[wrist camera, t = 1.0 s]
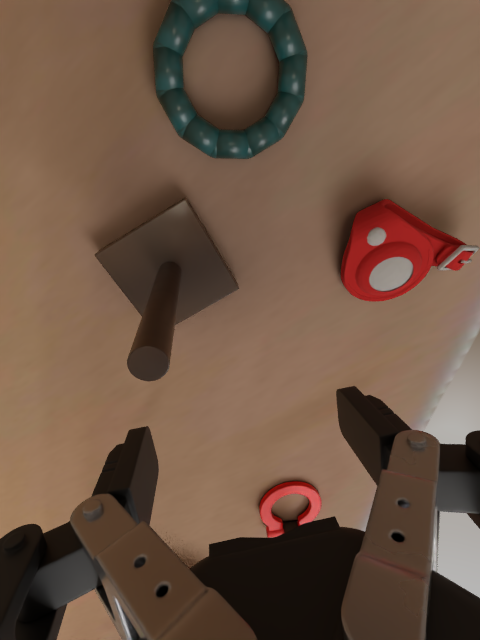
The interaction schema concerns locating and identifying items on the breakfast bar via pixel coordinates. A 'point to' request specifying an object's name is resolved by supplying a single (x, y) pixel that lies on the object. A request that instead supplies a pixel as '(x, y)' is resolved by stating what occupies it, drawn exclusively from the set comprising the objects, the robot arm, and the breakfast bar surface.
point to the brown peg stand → (165, 281)
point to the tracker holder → (395, 252)
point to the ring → (169, 46)
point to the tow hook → (294, 487)
